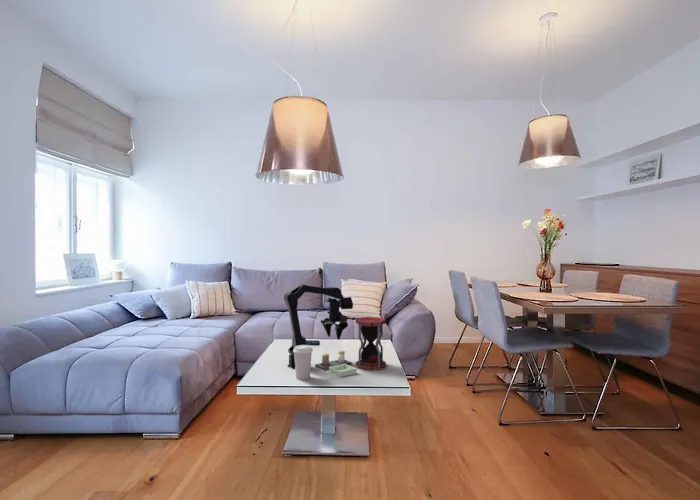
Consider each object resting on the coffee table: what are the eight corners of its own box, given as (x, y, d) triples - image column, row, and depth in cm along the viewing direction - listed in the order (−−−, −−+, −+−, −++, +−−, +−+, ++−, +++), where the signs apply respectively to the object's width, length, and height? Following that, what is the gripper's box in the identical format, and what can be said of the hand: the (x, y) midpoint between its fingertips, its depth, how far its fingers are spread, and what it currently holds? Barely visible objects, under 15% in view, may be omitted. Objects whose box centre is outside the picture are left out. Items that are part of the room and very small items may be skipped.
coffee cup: (296, 381, 194) (296, 350, 194) (290, 376, 203) (290, 345, 203) (315, 379, 198) (315, 348, 198) (309, 373, 207) (309, 343, 207)
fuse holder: (323, 370, 212) (323, 367, 212) (315, 366, 218) (315, 364, 218) (351, 364, 222) (351, 362, 222) (343, 361, 229) (343, 358, 229)
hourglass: (367, 372, 209) (366, 323, 209) (350, 364, 223) (350, 318, 222) (392, 367, 217) (392, 320, 217) (374, 360, 231) (374, 315, 231)
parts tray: (340, 377, 201) (340, 371, 201) (328, 372, 209) (328, 367, 209) (356, 373, 207) (356, 368, 207) (345, 368, 215) (345, 363, 215)
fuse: (340, 365, 221) (340, 352, 221) (336, 364, 224) (336, 351, 224) (346, 364, 223) (345, 351, 223) (342, 362, 226) (342, 350, 226)
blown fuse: (324, 368, 215) (324, 355, 215) (320, 367, 218) (320, 354, 218) (330, 367, 217) (330, 354, 217) (326, 366, 220) (326, 353, 220)
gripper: (356, 310, 226) (355, 339, 226) (336, 306, 241) (335, 333, 241) (339, 312, 219) (338, 341, 219) (320, 308, 234) (319, 335, 234)
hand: (333, 337), depth 229 cm, fingers open, 9 cm apart
